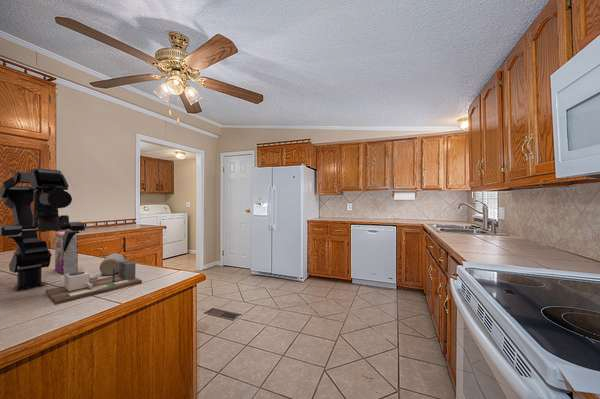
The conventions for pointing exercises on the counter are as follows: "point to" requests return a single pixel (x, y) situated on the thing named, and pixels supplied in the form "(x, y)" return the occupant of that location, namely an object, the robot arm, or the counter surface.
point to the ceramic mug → (111, 263)
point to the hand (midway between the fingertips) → (44, 254)
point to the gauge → (78, 280)
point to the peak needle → (113, 276)
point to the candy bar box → (66, 254)
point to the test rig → (98, 285)
